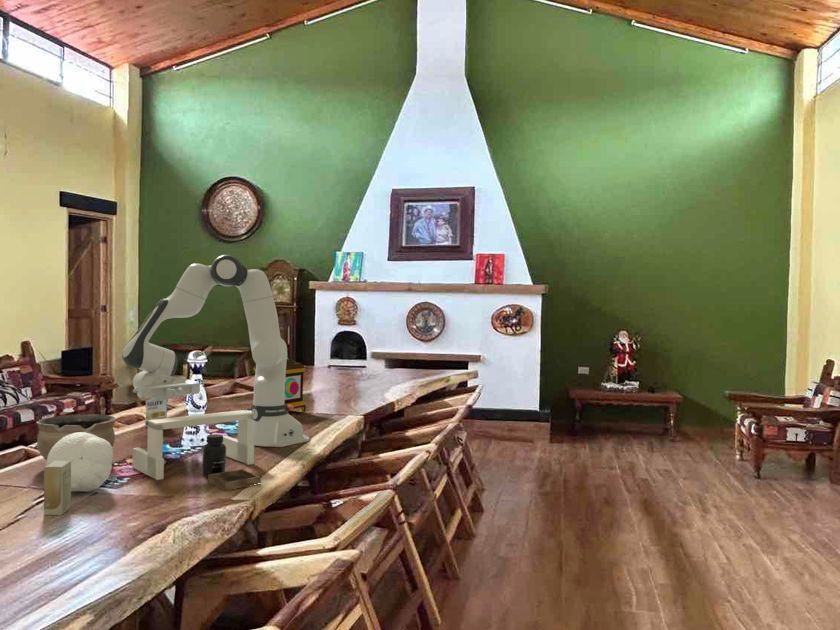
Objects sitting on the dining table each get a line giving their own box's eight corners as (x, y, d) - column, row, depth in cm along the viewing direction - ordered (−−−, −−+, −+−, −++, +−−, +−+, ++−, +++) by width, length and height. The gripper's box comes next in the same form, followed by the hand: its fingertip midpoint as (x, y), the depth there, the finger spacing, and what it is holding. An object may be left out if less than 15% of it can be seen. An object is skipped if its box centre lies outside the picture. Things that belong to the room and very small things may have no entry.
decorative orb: (70, 479, 209) (70, 424, 208) (130, 481, 208) (131, 427, 208) (30, 499, 189) (31, 439, 188) (97, 502, 188) (97, 441, 188)
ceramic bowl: (35, 478, 208) (35, 427, 207) (36, 461, 227) (36, 414, 227) (118, 471, 218) (118, 422, 218) (112, 455, 238) (112, 410, 237)
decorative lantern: (310, 412, 328) (311, 346, 327) (279, 418, 311) (281, 349, 310) (277, 407, 339) (279, 343, 337) (246, 413, 322) (247, 346, 321)
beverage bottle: (171, 424, 291) (171, 375, 290) (161, 428, 282) (162, 378, 282) (151, 423, 292) (151, 374, 291) (140, 427, 283) (141, 377, 283)
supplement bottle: (218, 478, 214) (219, 438, 213) (197, 476, 216) (198, 437, 215) (229, 473, 221) (230, 434, 220) (209, 471, 222) (210, 432, 222)
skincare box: (53, 507, 183) (54, 459, 182) (71, 507, 183) (72, 460, 183) (42, 515, 177) (43, 466, 176) (61, 515, 177) (61, 466, 176)
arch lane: (226, 453, 246) (227, 405, 245) (253, 463, 233) (254, 413, 232) (132, 467, 224) (133, 414, 223) (156, 479, 211) (157, 424, 210)
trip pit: (241, 476, 217) (241, 469, 217) (260, 484, 209) (260, 476, 209) (208, 482, 210) (208, 474, 210) (226, 490, 202) (226, 483, 202)
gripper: (130, 380, 239) (147, 385, 229) (188, 376, 253) (207, 380, 243) (130, 399, 239) (147, 405, 229) (188, 394, 253) (207, 399, 243)
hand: (178, 392), depth 236 cm, fingers closed
